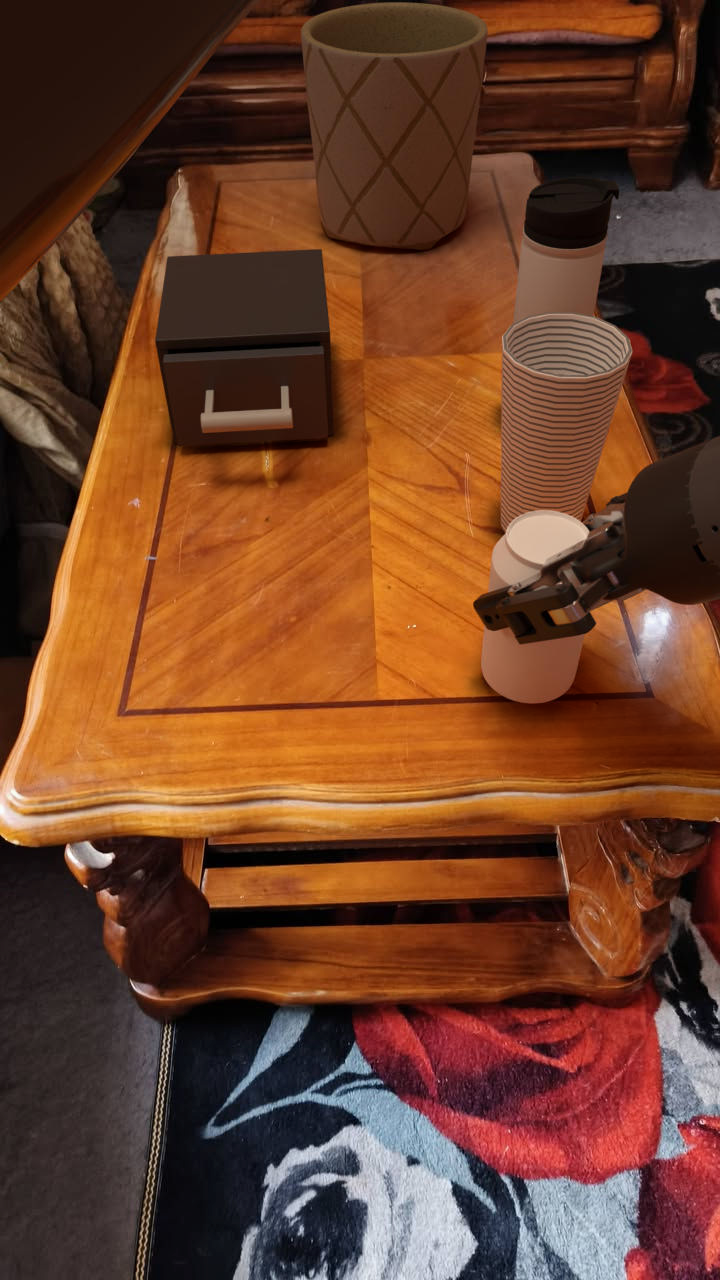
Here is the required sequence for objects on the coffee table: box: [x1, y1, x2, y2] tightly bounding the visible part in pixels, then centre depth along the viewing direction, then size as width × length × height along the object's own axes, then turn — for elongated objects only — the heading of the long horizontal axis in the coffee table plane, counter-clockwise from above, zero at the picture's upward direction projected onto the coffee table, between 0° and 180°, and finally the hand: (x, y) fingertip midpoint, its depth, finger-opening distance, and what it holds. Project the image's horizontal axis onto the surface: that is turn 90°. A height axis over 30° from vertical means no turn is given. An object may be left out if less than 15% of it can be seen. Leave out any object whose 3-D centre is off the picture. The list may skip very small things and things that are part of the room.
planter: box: [300, 1, 488, 251], centre depth 105 cm, size 19×19×20 cm
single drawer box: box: [154, 248, 335, 445], centre depth 84 cm, size 15×14×10 cm
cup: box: [500, 312, 634, 534], centre depth 68 cm, size 8×8×16 cm
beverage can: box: [480, 510, 589, 704], centre depth 59 cm, size 6×6×12 cm
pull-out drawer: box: [163, 342, 329, 447], centre depth 81 cm, size 18×13×8 cm
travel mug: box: [512, 176, 620, 324], centre depth 76 cm, size 6×7×20 cm
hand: (516, 584), depth 59 cm, fingers closed on beverage can, 6 cm apart
